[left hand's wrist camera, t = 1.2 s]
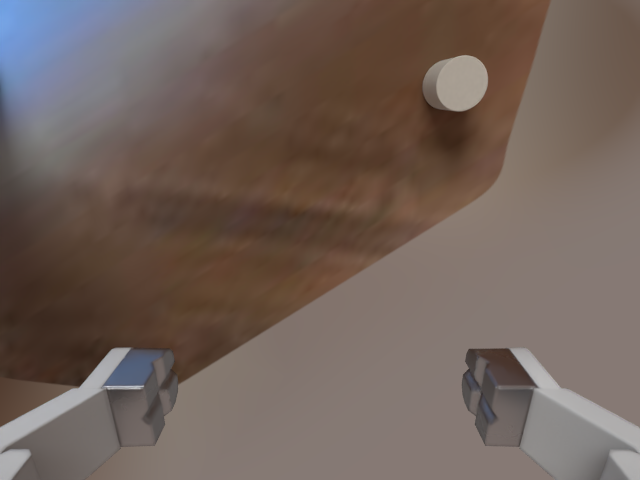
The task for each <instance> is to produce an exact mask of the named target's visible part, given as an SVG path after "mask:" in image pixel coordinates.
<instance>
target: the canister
mask: <svg viewBox="0 0 640 480" xmlns="http://www.w3.org/2000/svg"><path fill="white" fill-rule="evenodd" d="M487 85H488V75H487V71H486V68H485V66H484V65H483V64H482V62H481V61H479V60H478V59H477V58H475V57H472V56H459V57H454V58H450V59H446V60H442V61H440V62H437V63H436V64H434V65H433V66H432V67H431V68H430V69H429V70H428V72H427V73H426V75H425V77H424V81H423V94H424V97H425V99H426V101H427V102H428V103H429V104H430V105H431V106H432V107H434V108H437V109H441V110H449V111H458V112H459V111H466V110H468V109H470V108H472V107H474V106H475V105H476V104H478V102H479V101H480V100H481V99H482V97H483V96H484V94H485V92H486V89H487Z"/></svg>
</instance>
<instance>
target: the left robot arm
mask: <svg viewBox="0 0 640 480" xmlns="http://www.w3.org/2000/svg"><path fill="white" fill-rule="evenodd" d="M174 362H175V360H174V355H173V351H172V350H171V349H170V348H114V349H112V350H111V351H110V352H109V353H108V354H107V355H106V357H105V358H104V359H103V360H102V361H101V362H100V364H99V365H98V366H97V367H96V368H95V370H94V371H93V372H92V373H91V374H90V376H89V377H88V378H87V379H86V380H85V381H84V383H83V384H82V385H81V386H80V387H79V388H73V389H71V390H69V391H67V392H65V393H63V394H61V395H60V396H58V397H56V398H54V399H52V400H50V401H48V402H46V403H45V404H43V405H41V406H39V407H37V408H35V409H33V410H31V411H30V412H28V413H26V414H24V415H22V416H20V417H18V418H16V419H15V420H13V421H11V422H9V423H7V424H5V425H3V426H2V427H0V480H85V479H86V478H88V477H89V476H90V475H91V474H92V473H93V472H94V471H95V470H97V469H98V468H99V467H100V466H101V465H102V464H103V463H105V462H106V461H107V460H108V459H109V458H110V457H112V456H113V455H114V454H115V453H116V452H117V451H118V450H120V447H128V446H155V444H156V442H157V440H158V438H159V436H160V434H161V432H162V429H163V428H164V425H165V421H164V416H165V415H166V414H168V413H169V412H170V411H171V410H172V409H173V406H174V404H175V401H176V397H177V393H178V379H177V374H176V373H175V372H174V371H173V370H172V369H171V367H172V365H173V364H174ZM465 362H466V364H467V365H468V367H469V369H468V370H467V371H466V372H465V373H464V374H463V380H462V392H463V398H464V401H465V404H466V406H467V408H468V411H470V412H471V413H472V414H474V415H475V416H476V421H475V425H476V428H477V429H478V432H479V434H480V436H481V438H482V440H483V442H484V444H485V446H512V447H520V449H521V450H522V451H523V452H524V453H525V454H526V455H527V456H529V457H530V458H531V459H532V460H533V461H534V462H536V463H537V464H538V465H539V466H540V467H541V468H542V469H544V470H545V471H546V472H547V473H548V474H549V475H550V476H551V477H553V478H554V479H555V480H640V427H638V426H636V425H634V424H633V423H631V422H629V421H627V420H625V419H623V418H621V417H620V416H618V415H616V414H614V413H612V412H610V411H608V410H607V409H605V408H603V407H601V406H599V405H597V404H595V403H594V402H592V401H590V400H588V399H586V398H584V397H582V396H580V395H579V394H577V393H575V392H573V391H571V390H569V389H567V388H560V386H559V385H558V384H557V383H556V381H555V380H554V379H553V378H552V377H551V376H550V374H549V373H548V372H547V371H546V370H545V368H544V367H543V366H542V365H541V364H540V363H539V361H538V360H537V359H536V358H535V357H534V355H533V354H532V353H531V352H530V351H529V350H528V349H526V348H524V347H522V348H505V349H469V350H468V352H467V354H466V360H465Z"/></svg>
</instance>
